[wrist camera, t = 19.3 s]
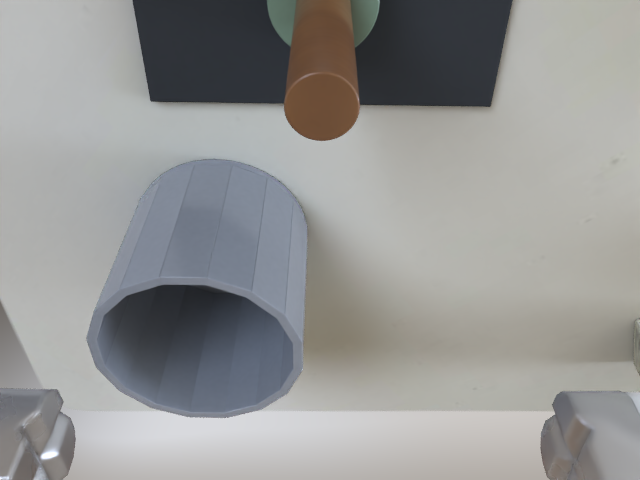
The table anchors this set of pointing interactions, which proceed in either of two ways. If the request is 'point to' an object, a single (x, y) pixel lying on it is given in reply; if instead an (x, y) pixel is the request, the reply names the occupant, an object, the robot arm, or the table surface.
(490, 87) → the mat
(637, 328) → the box
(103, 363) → the tumbler
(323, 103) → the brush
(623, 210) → the table surface
